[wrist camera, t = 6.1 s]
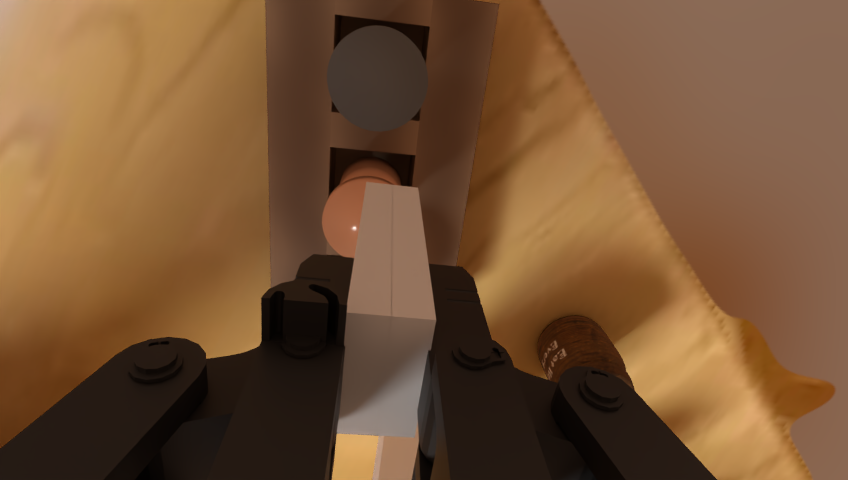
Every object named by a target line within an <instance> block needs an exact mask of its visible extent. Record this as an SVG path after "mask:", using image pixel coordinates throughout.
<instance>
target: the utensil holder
mask: <svg viewBox="0 0 848 480" xmlns="http://www.w3.org/2000/svg"><path fill="white" fill-rule="evenodd" d="M538 355H539V359H540V362H541V364H542V367H543V369H544V371H545V374H546V376H547V378H548V380H550V381H553V382H556V383H558V381H559V378H560V376H561V375H562V373H563V372H564V371H565V370H566V369H569V368H572V367H576V366H587V367H594V368H597V369H601V370H604V371H607V372H609V373H611V374H612V375H614V376H616V377H618V378H620V379H621V380H623V381H624V382H625V383H626V384H627V385H629V386H630V387H631V388H632V389H633V390H634V386H633V383H632V381H631V378H630V376H629V375H628V373H627V372H626V368H625V364H624V362H623V359H622V358H621V356H620V354H619V352H618V351H617V349H616V348H615V346H614V345H613V344H612V342H611V341H610V339H609V338H608V336H607V335H606V334H605V332H604V331H603V330H602V329H601V327H600V326H599V325H598V324H597V323H595V322H594V321H592V320H591V319H589V318H586V317H582V316H568V317H564V318H561V319H559V320H557V321H555V322H553V323H552V324H550V325H549V326H548V327H547V328H546V329H545V330H544V331H543V333H542V334H541V336H540V338H539V341H538ZM634 391H635V390H634Z"/></svg>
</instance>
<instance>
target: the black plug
mask: <svg viewBox="0 0 848 480" xmlns="http://www.w3.org/2000/svg"><path fill="white" fill-rule="evenodd" d="M327 85H328V90H329V94H330V97H331V99H332V101H333V103H334V105H335V107H336V108H337V110H338V111H339V112H340V113H341V114H342V115H343V116H344V118H346V119H347V120H348V121H349V122H351V123H352V124H354V125H356V126H358V127H360V128H362V129H366V130H370V131H389V130H393V129H396V128H398V127H400V126H402V125H404V124H406V123H407V122H408V121H410V120H411V119H412V118H413V117H414V116H415V115H416V114H417V112H418V111H419V109H420V108H421V106H422V104H423V102H424V100H425V97H426V94H427V88H428V72H427V67H426V64H425V61H424V58H423V56H422V54H421V52H420V51H419V49H418V48H417V46H416V45H415V44H414V43H413V42H412V41H411V40H410V39H409V38H408V37H407V36H405V35H404V34H403V33H401V32H399V31H397V30H395V29H393V28H390V27H385V26H376V25H375V26H367V27H363V28H360V29H357V30H355V31H353V32H352V33H350V34H348V35H347V36H346V37H344V38H343V39H342V40H341V41H340V42H339V44H338V45H337V46H336V48H335V49H334V51H333V53H332V55H331V58H330V60H329V64H328V69H327Z"/></svg>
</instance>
